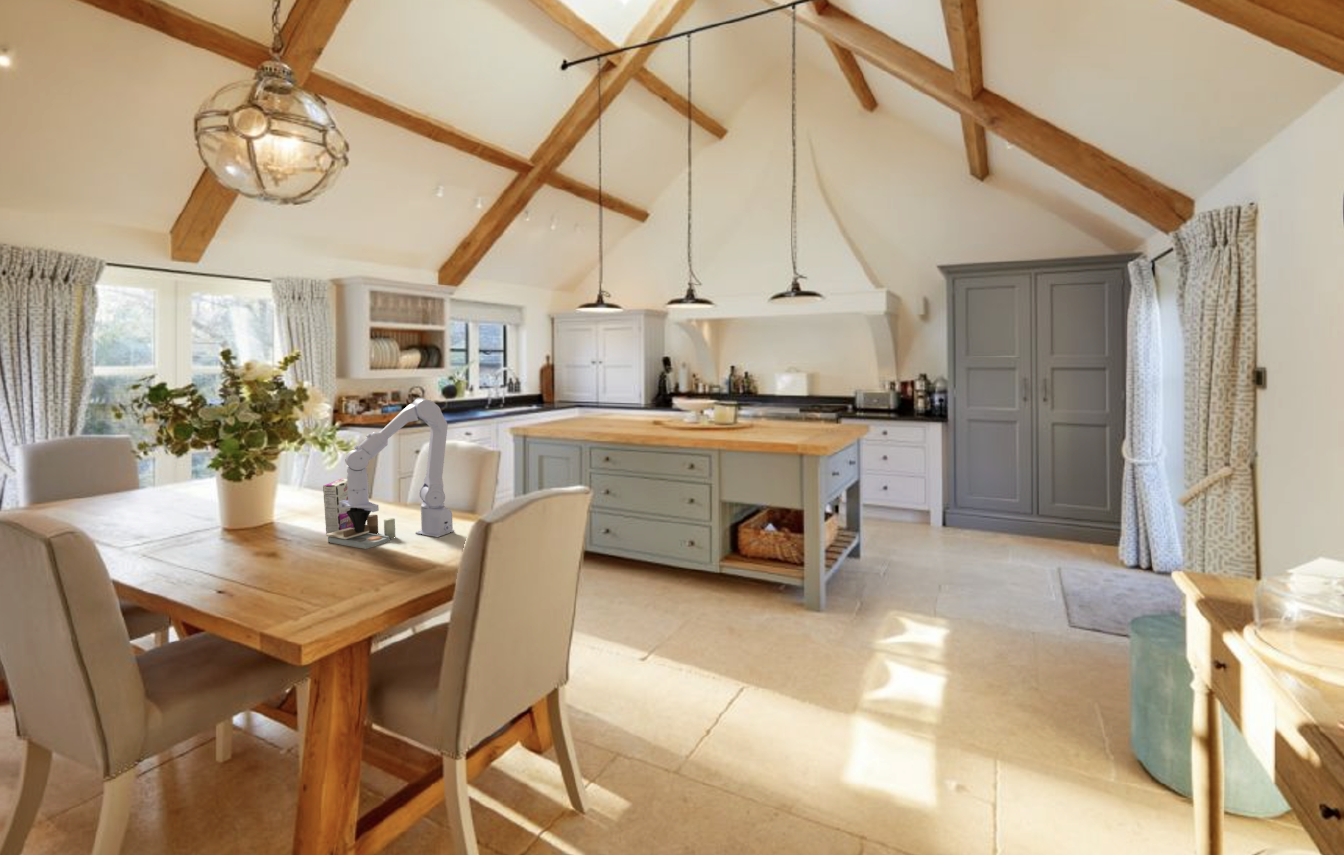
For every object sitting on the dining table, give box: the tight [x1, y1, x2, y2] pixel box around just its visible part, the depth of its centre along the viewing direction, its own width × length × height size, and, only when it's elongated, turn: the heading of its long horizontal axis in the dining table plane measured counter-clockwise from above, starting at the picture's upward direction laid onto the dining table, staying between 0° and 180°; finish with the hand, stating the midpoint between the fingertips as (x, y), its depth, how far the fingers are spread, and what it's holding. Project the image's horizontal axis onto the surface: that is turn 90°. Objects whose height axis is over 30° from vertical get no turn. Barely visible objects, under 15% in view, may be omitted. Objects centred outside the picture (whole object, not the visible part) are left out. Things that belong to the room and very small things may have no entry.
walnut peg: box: [366, 514, 379, 534], centre depth 212 cm, size 3×3×6 cm
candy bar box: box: [322, 478, 354, 535], centre depth 215 cm, size 11×5×16 cm, turn 179°
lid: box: [325, 524, 369, 539], centre depth 205 cm, size 8×9×2 cm
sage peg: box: [383, 517, 396, 540], centre depth 208 cm, size 3×3×6 cm
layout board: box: [327, 533, 390, 550], centre depth 203 cm, size 16×9×2 cm, turn 67°
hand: (359, 531), depth 202 cm, fingers closed
